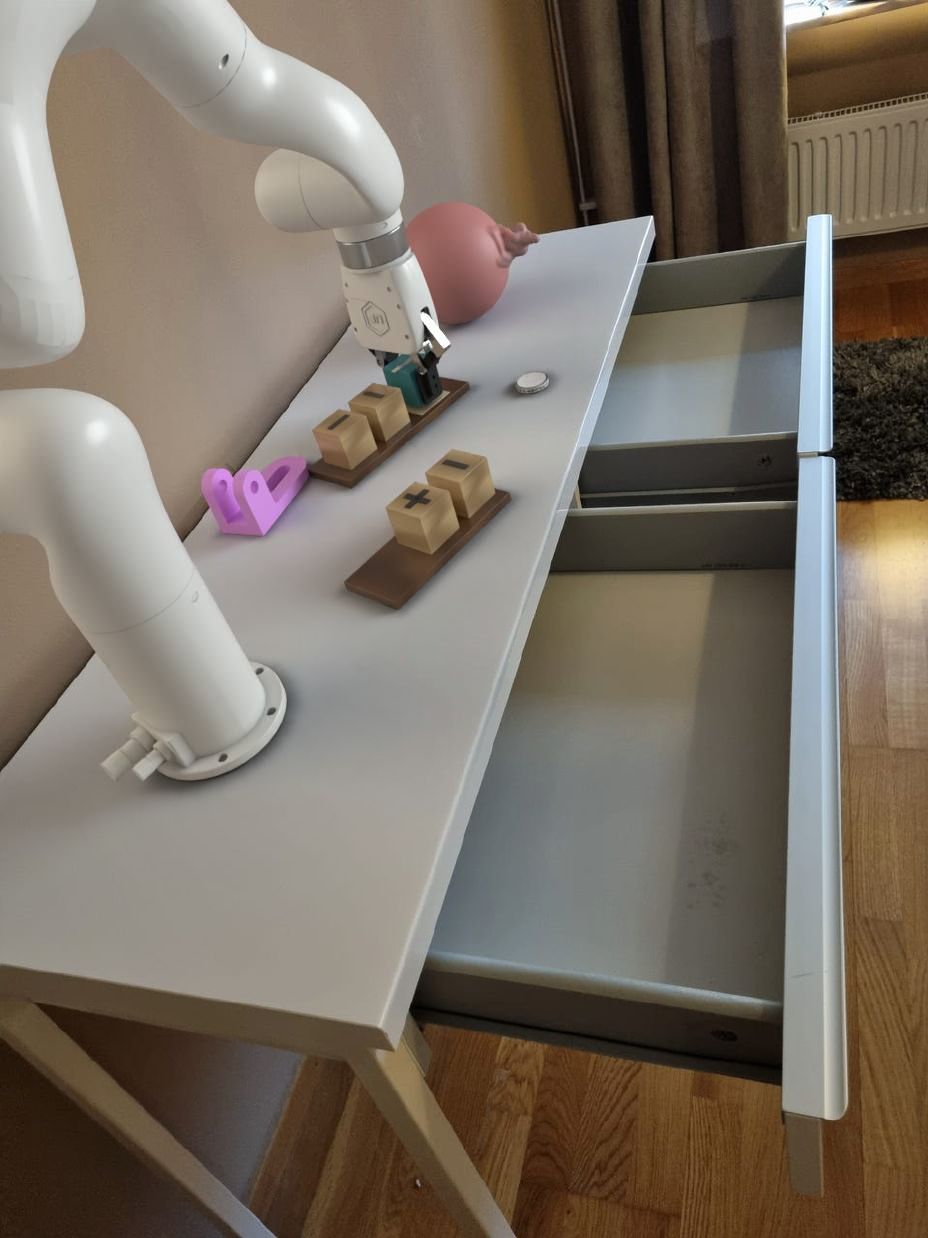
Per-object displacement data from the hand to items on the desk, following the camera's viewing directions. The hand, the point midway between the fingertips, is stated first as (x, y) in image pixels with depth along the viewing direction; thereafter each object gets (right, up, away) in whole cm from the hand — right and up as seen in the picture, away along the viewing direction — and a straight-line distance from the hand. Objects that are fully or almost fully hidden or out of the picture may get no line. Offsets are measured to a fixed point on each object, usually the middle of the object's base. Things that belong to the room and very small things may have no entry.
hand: (417, 394), depth 108 cm
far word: (-3, -5, -1) cm, 6 cm away
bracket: (-16, -14, -6) cm, 22 cm away
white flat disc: (+14, +1, -1) cm, 14 cm away
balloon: (+8, +15, +17) cm, 24 cm away
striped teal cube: (0, 0, 0) cm, 0 cm away
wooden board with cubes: (+3, -20, -19) cm, 28 cm away
